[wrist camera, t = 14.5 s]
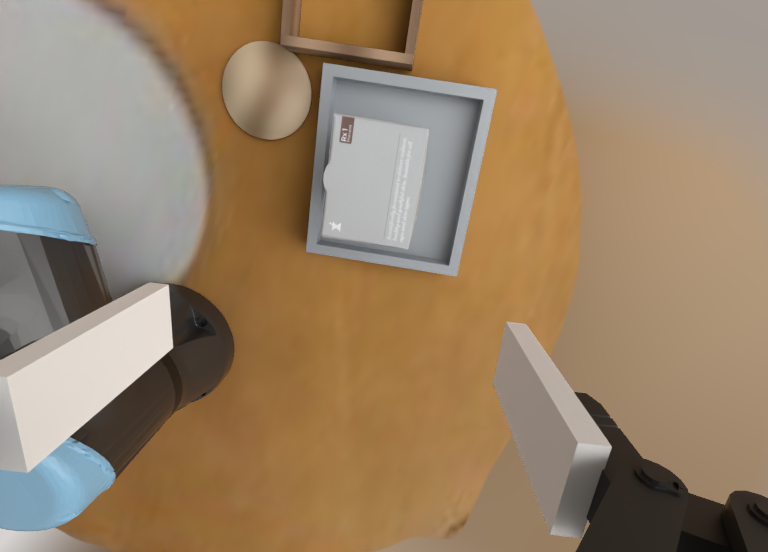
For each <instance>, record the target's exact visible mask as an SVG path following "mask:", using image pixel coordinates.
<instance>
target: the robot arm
mask: <svg viewBox="0 0 768 552" xmlns="http://www.w3.org/2000/svg"><path fill="white" fill-rule="evenodd" d="M95 245H97V242H96V240H95V239H94V238H93V237H92V235H91V233H90V230H89V228H88V226H87V223H86V221H85V218H84V215H83V213H82V210H81V207H80V205H79V204H78V202H77V201H76V200H75V198H73V197H72V196H71V195H70V194H68V193H67V192H64V191H62V190H60V189H57V188H52V187H44V186H22V185H0V528H2V529H7V530H15V531H40V530H46V529H50V528H54V527H58V526H60V525H63V524H65V523H67V522H69V521H70V520H72V519H74V518H75V517H76V516H78V515H79V514H80V513H81V512H82V511H83V510H84V509H85V508H86V507H87V506H88V505H89V504H90V503H91V502H92V501H93V500H94V499H96V498H97V497H98V496H99V495H100V494H101V493H102V492H103V491H105V490H107V489H108V488H109V487H110V486H111V485H112V483H114V480H115V479H116V478H117V477H118V476H119V475H120V474H121V472H122V471H123V470H124V469H125V468H126V467H127V465H128V464H129V463H130V462H131V461H132V460H133V459H134V457H135V456H136V455H137V454H138V453H139V452H140V451H141V449H142V448H143V447H144V446H145V445H146V444H147V443H148V441H149V440H150V439H151V438H152V437H153V436H154V434H155V433H156V432H157V431H158V430H159V429H160V428H161V426H162V425H163V424H164V423H165V422H166V421H167V420H168V418H169V417H170V416H171V415H172V414H173V413H174V412H175V411H177V410H179V409H181V408H183V407H185V406H186V405H188V404H189V403H191V402H194V401H196V400H199V399H201V398H203V397H204V396H206V395H208V394H209V393H210V392H211V391H213V390H214V389H215V388H216V387H217V386H218V384H219V383H220V382H221V381H222V380H223V378H224V377H225V376H226V375H227V373H228V371H229V370H230V367H231V365H232V362H233V357H234V342H233V337H232V333H231V331H230V328H229V326H228V324H227V322H226V320H225V318H224V317H223V316H222V314H221V313H220V312H219V310H218V309H217V308H216V307H215V306H214V305H213V304H212V303H211V302H210V301H208V300H207V299H206V298H204V297H203V296H201V295H200V294H198V293H196V292H194V291H192V290H190V289H188V288H185V287H182V286H178V285H172V284H160V283H151V282H149V283H147V284H145V285H143V286H141V287H139V288H138V289H136V290H134V291H132V292H130V293H128V294H126V295H124V296H122V297H120V298H118V299H116V300H115V301H113V302H112V299H111V296H110V292H109V289H108V286H107V283H106V280H105V277H104V273H103V270H102V267H101V263H100V260H99V256H98V253H97V250H96V246H95ZM493 385H494V388H495V391H496V393H497V396H498V398H499V401H500V404H501V406H502V409H503V412H504V414H505V417H506V419H507V422H508V425H509V427H510V430H511V433H512V435H513V438H514V440H515V443H516V446H517V448H518V451H519V454H520V456H521V459H522V462H523V464H524V467H525V469H526V471H527V475H528V477H529V480H530V482H531V485H532V488H533V490H534V493H535V496H536V498H537V501H538V504H539V506H540V509H541V512H542V514H543V517H544V519H545V522H546V524H547V527H548V530H549V533H550V534H551V535H558V536H567V537H575V538H582V535H583V532H584V529H585V526H586V523H587V520H589V523H590V525H589V527H588V529H587V531H586V533H585V535H584V537H583V539H582V541H581V543H580V545H579V547H578V549H577V550H576V552H768V498H766V497H764V496H762V495H759V494H756V493H752V492H748V491H734V492H733V493H731V494H730V495H729V498H728V500H727V502H726V504H725V505H723V504H720V503H717V502H714V501H711V500H708V499H705V498H702V497H699V496H696V495H693V494H690V493H688V489H687V488H686V486H685V485H684V483H683V482H682V481H681V480H680V479H679V478H678V477H677V476H676V475H675V474H673V473H672V472H671V471H669V470H668V469H666V468H664V467H663V466H661V465H659V464H657V463H654V462H652V461H649V460H647V459H643V458H642V457H641V456H640V454H639V453H638V452H637V450H636V449H635V448H634V446H633V445H632V444H631V443H630V441H629V440H628V439H627V437H626V436H625V435H624V434H623V432H622V431H621V430H620V429H619V428H618V427H617V425H616V423H615V422H614V421H613V419H611V418H610V415H609V414H608V413H607V412H606V410H605V409H604V408H603V406H602V405H601V404H600V403H598V402H597V401H596V400H594V399H593V398H592V397H590V396H589V395H588V394H586V393H578V392H573V390H572V389H571V387H570V386H569V385H568V383H567V382H566V380H565V379H564V377H563V376H562V375H561V373H560V372H559V370H558V369H557V367H556V366H555V365H554V364H553V362H552V360H551V359H550V357H549V356H548V355H547V353H546V352H545V350H544V349H543V347H542V346H541V345H540V343H539V342H538V340H537V339H536V337H535V336H534V335H533V333H532V332H531V330H530V329H529V327H528V326H527V325H526V324H523V323H514V322H506V324H505V329H504V334H503V338H502V343H501V348H500V353H499V357H498V362H497V367H496V372H495V376H494V381H493Z"/></svg>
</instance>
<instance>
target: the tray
mask: <svg viewBox="0 0 768 552" xmlns="http://www.w3.org/2000/svg"><path fill="white" fill-rule="evenodd" d="M496 94H497V89H491V88H485V87H478V86H472V85H465V84H459V83H452V82H446V81H439V80H433V79H426V78H420V77H413V76H407V75H400V74H394V73H387V72H381V71H374V70H368V69H361V68H355V67H348V66H342V65H335V64H329V63H323V70H322V81H321V92H320V103H319V114H318V125H317V136H316V147H315V158H314V169H313V180H312V191H311V202H310V213H309V224H308V235H307V246H306V252H310V253H316V254H322V255H328V256H334V257H340V258H347V259H353V260H359V261H365V262H371V263H377V264H383V265H390V266H396V267H402V268H408V269H414V270H420V271H426V272H432V273H439V274H445V275H451V276H457V273H458V268H459V263H460V259H461V254H462V250H463V245H464V241H465V236H466V231H467V227H468V222H469V218H470V213H471V208H472V204H473V199H474V195H475V190H476V185H477V181H478V176H479V172H480V167H481V162H482V158H483V153H484V149H485V144H486V139H487V135H488V130H489V126H490V121H491V117H492V112H493V107H494V103H495V98H496ZM334 113H338V114H345V115H351V116H358V117H364V118H371V119H377V120H383V121H389V122H395V123H401V124H407V125H412V126H418V127H423V128H427V129H429V136H428V143H429V145H428V153H427V162H426V169H425V176H424V183H423V189H422V194H421V199H420V205H419V210H418V215H417V219H416V222H415V225H414V229H413V232H412V236H411V240H410V244H409V249H400V248H393V247H386V246H379V245H372V244H365V243H358V242H351V241H344V240H338V239H331V238H325V237H322V235H321V222H322V213H323V203H324V194H325V187H324V183H323V175H324V171H325V168H326V166H327V165H328V159H329V149H330V140H331V130H332V121H333V115H334Z"/></svg>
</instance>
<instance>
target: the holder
mask: <svg viewBox="0 0 768 552" xmlns="http://www.w3.org/2000/svg"><path fill="white" fill-rule="evenodd" d="M301 4H302V0H283V6H282V23H281V39H280V44H281V45H282V46H283V47H284V48H286V49H287V50H288V51H291V52H294V53H301V54H307V55H314V56H320V57H327V58H333V59H340V60H346V61H353V62H359V63H366V64H372V65H379V66H385V67H392V68H398V69H405V70H411V71H412V69H413V63H414V56H415V50H416V43H417V37H418V30H419V24H420V17H421V11H422V4H423V0H413V2H412V9H411V15H410V22H409V29H408V36H407V42H406V49H405V53H400V52H393V51H387V50H380V49H374V48H367V47H361V46H354V45H348V44H341V43H335V42H328V41H322V40H315V39H308V38H302V37H299V31H300V18H301Z"/></svg>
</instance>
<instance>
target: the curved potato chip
mask: <svg viewBox="0 0 768 552" xmlns="http://www.w3.org/2000/svg"><path fill="white" fill-rule="evenodd" d="M222 93H223V99H224V102H225V105H226V108H227V110H228V112H229V114H230V116H231V117H232V119H233V120H234V121H235V123H236V124H237V125H238V126H239V127H240V128H241V129H243V130H244V131H245V132H247V133H248V134H250V135H252V136H255V137H257V138H261V139H268V140H275V139H281V138H284V137H287V136H289V135H291V134H293V133H294V132H295V131H297V130H298V129H299V128H300V127H301V125H302V124H303V123H304V121H305V120H306V118H307V116H308V113H309V111H310V107H311V102H312V88H311V82H310V79H309V76H308V73H307V71H306V69H305V67H304V65H303V64H302V62H301V61H300V60H299V59H298V57H297V56H296V55H294V54H293V53H292V52H291V51H288V50H287V49H286V48H284V47H283V46H282V45H280V44H277V43H274V42H270V41H256V42H251V43H249V44H246V45H244V46H243V47H241V48H240V49H238V50H237V51H236V52H235V53H234V54H233V55H232V57H231V58H230V60H229V61H228V63H227V65H226V67H225V70H224V74H223V79H222Z"/></svg>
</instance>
